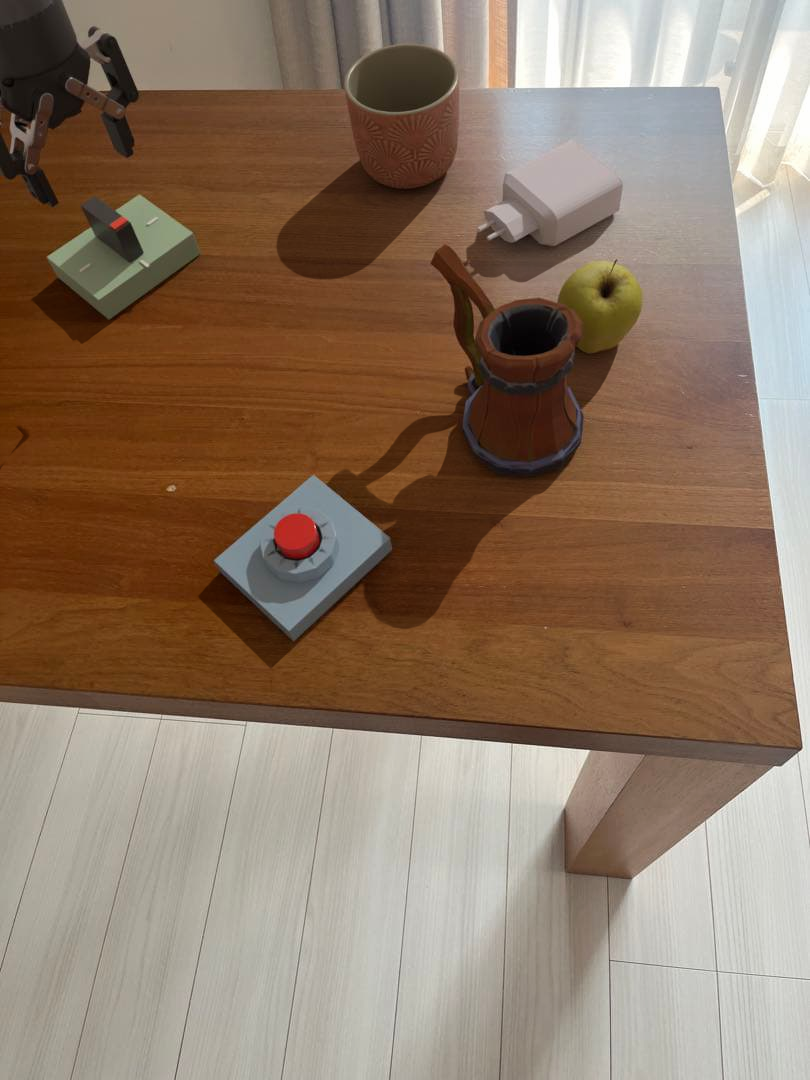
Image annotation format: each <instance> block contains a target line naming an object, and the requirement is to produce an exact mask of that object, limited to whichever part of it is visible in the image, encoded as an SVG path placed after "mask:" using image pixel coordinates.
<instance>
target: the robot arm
mask: <svg viewBox="0 0 810 1080" xmlns="http://www.w3.org/2000/svg"><path fill="white" fill-rule="evenodd" d="M63 1H64V0H0V129H3V127H4V125H3V120H2V114H3V111H4V110H6V111H7V112H9V113H10V114H11V115H10V122H9V133H10V135H11V141H10V148H8V146H7V144H6V142H5V139H4V137H3V135H2V133H1V132H0V174H1V175H2V176H3V177H4V178H5V179H7V180H14V179H15V178H16V177H17V176H18V175H20V176H21V179H22V181H23V183H24V184H25V186H26V189H27V190H28V192H29V194H30V196H32V197H33V198H34V199H35V200H37V201H38V202H40V203H41V204H42V205H47V206H49V207H50V208H54V207H56V206H57V205H59V203H60V202H59V199H58V198H57V196H56V194H55V192H54V190H53V187H52V186H51V184H50V181H49V180H48V178H47V176H46V174H45V172H44V170H43V168H41V167H40V165H39V164H40V160H41V159H40V157H41V151H42V149H44V148H45V147H46V143H47V136H48V131H49V129H50V130H51V131H53V130H54V129H56V128H58V127H59V126H61V125H62V124H63V123H64V121H66V120H67V119H70V118H74V117H77V115H79V114H81V113H82V111H83V110H82V108H83V106H84V104H85V102H86V103H87V104H88V105H91V106H92V107H95V108H96V109H98V110H99V111H102V112H101V113H100V115H99V116H101V117H100V118H101V120H102V122H103V124H104V127H105V130H106V132H107V135H108V136H109V139H110V142H111V144H112V146H113V149H114V150H115V151H116V153H118V154H120V155H121V156H123V157H124V158H126V159H128V158H130V157H132V156H133V155H134V153H135V152H134V149H133V148H134V147H135V138H134V136H133V133H132V130H131V128H130V125H129V122H128V120H127V117H126V111H127V110H126V109H127V108H128V106H129V105H130V103H132V104H134V103H135V102H137V101H138V100H139V97H140V92H139V90H138V88H137V86H136V83H135V80H134V79H133V76H132V73H131V71H130V68H129V66H128V64H127V62H126V59H125V57H124V55H123V52H122V50H121V47H120V45H119V42H118V40H117V38H116V37H115V36H113V35H112V34H109V33H108V32H107V31H105V30H102V29H101V28H99V27H98V26H94V25H93V26H91V27H90V28H89V29H88V32H87V37H88V38H86V39H85V40H83V41H82V42H80V43H79V42H78V39H77V38H78V37H77V34H76V32H75V29H74V26H73V24H72V22H71V19H70V16H69V14H68V12H67V9H66V7H65V4H64V2H63ZM91 59H92V60H93V61H94V62H95V63H97V64H100V66H101V68H102V71H103V73H104V75H105V77H106V80H107V82H108V84H109V86H110V90H109V91H108V92H107V93H106V94H105V93H102V92H101V91H100V90H98V89H96V88H94V87H93V86H90V85H89V84H88V83H89V77H90V76H89V75H90V71H91ZM29 123H30V128H29V125H28V124H29Z"/></svg>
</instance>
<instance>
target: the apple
mask: <svg viewBox="0 0 810 1080" xmlns="http://www.w3.org/2000/svg"><path fill="white" fill-rule="evenodd" d="M617 261H618V259H617V258H616V259H615V261H614V262H613V261H610V260H594V261H591V262H588V263H585V264H584V265H582V266H580V267H579V268H577V269H576V270H575V271H573V272H572V273H571V274H570V275H569V276H568V278H567V279H566V280H565V282H564V283H563V285H562V287H561V289H560V290H559V293H558V296H557V301H556V303H560V304H564V305H568V308H569V309H571V310H573V311H575V312H576V313H577V315H578V317H579V318H580V320H581V321H582V323H583V330H582V337H581V339H580V341H579V342H578V344H577V346H576V347H577V348H578V349H579V350H581V351H582V352H583V353H586V354H594V353H595V354H596V353H598V352H602V351H604V350H609V349H612V348H614V347H616V346H617V345H618V344H619V343H621V342H622V340H623V339H624V338H625V337H626V336H627V335H628V333H629V332H630V331H631V330H632V328H634V325H635V324H636V322H637V321H638V319H639V318H640V315H641V313H642V309H643V300H644V299H643V298H644V295H643V291H642V288H641V286H640V284H639V282H638V280H637V278H635V276H634V275H633V274H632V273H631V271H630V270H628V269H626V268H625V267H624V266H622V265H620V264H618V263H617Z"/></svg>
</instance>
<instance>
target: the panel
mask: <svg viewBox="0 0 810 1080" xmlns="http://www.w3.org/2000/svg"><path fill="white" fill-rule="evenodd" d="M114 210H115V209H114ZM115 211H116V212H117V213H119V214H120V215H121V216H123V217H124V218H125V219H127V220H128V221H130V222H131V225H132V227H133V229H134V231H135V234H136V236H137V238H138V241H139V243H140V245H141V247H142V250H143V252H144V253H143V254H141V255H140V256H139V257H137V258H136V259H134V260H133V261H131V262H130V263H129V262H128V261H127V260H126V259H124V258H123V257H122V256H120V255H119V254H118V253H117V252H115V251H114V250H113V249H111V248H110V247H109V246H108V245H106V244H105V243H104V242H102V241H101V240H100V239H99V238H97V237H96V236H95V234H94V232H93V230H92V228H91V226H90V227H89V228H88V229H86V230H84V231H83V232H81V233H80V234H78V235H77V236H75V237H74V238H72V239H71V240H69V241H68V242H66V243H65V244H63V245H62V246H61V247H59V248H58V249H56V250H55V251H53V252H52V253H50V254H49V255H47V256H46V260H47V261H48V263H49V265H50V266H51V268H52V270H53V272H54V274H55V275H56V277H57V278H58V279H59V280H60V281H62V283H64V284H65V285H66V286H68V287H69V288H70V289H71V290H72V291H73V292H75V293H76V294H77V295H78V296H79V297H81V299H83V300H84V301H86V303H88V304H89V305H90V306H92V307H93V308H94V309H95V310H96V311H97V312H99V313H100V314H101V315H102V316H103V317H105V318H106V319H107V320H111V319H112V318H114V317H115V316H117V315H118V314H119V313H120V312H122V311H123V310H125V309H127V308H128V307H129V306H130V305H131V304H133V303H135V302H136V301H138V299H140V298H141V297H143V296H144V295H146V294H147V293H148V292H150V291H151V290H152V289H154V288H155V287H157V286H158V285H160V284H161V283H162V282H164V281H165V280H166V279H168V278H169V277H170V276H172V275H173V274H174V273H176V272H177V271H178V270H179V271H180V269H182V268H184V266H186V265H187V264H188V263H190V262H191V261H193V260H194V259H196V258H197V257H198V256H200V255H201V251H200V248H199V244H198V243H197V240H196V237H195V235H194V233H193V232H192V231H191V230H190V229H188V228H187V227H186V226H184V225H183V224H181V223H180V222H178V221H177V220H176V219H175V218H173V217H172V216H170V215H169V214H168V213H166V212H165V211H163V210H162V209H161V208H159V207H158V206H156V205H155V204H153V203H152V202H151V201H149V200H148V199H146V198H145V196H142V195H141V194H137V195H136V196H135V197H133V198H132V199H130V200H129V201H127V202H125V203H124V204H122V205H121V206H120V207H118V208H117V209H116V210H115Z"/></svg>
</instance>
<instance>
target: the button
mask: <svg viewBox="0 0 810 1080" xmlns="http://www.w3.org/2000/svg"><path fill="white" fill-rule="evenodd" d="M274 538H275V541H276V543H277V546H278V548H279V550H280V552H281V553H282V554H283V555H284V556H286V557H288V558H290V559H303V558H306V557H308V556H309V555H311V554H312V553H313V552H314V551H315V550H316V548H317V546H318V544H319V535H318V532H317V529H316V526H315V523H314V521H313V520H312V519H311V518H310V517H308V516H307V515H304V514H300V513H295V514H290V515H287V516H285V517H283V518H282V519H281V520H280V521H279V522H278V523H277V525H276V527H275V530H274Z"/></svg>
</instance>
